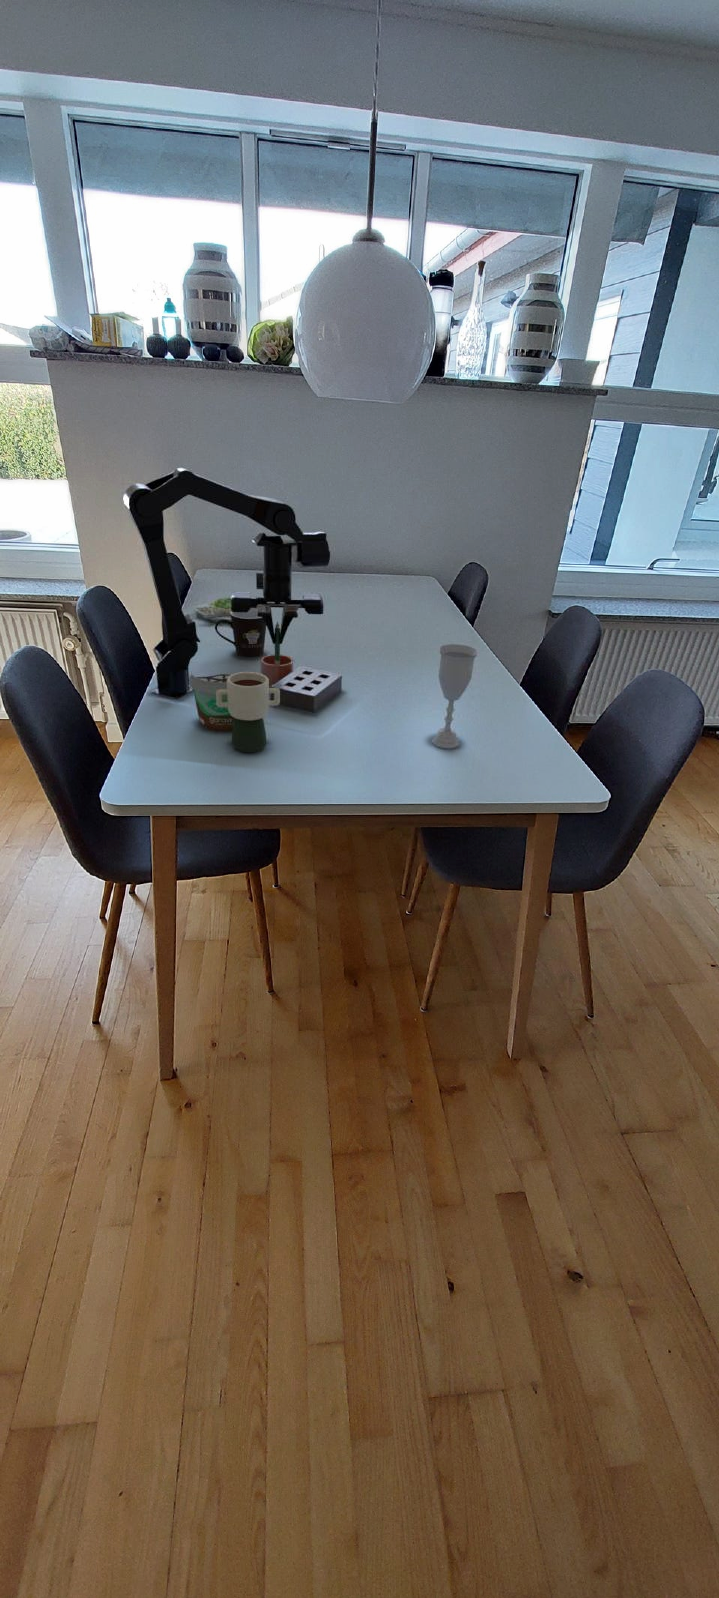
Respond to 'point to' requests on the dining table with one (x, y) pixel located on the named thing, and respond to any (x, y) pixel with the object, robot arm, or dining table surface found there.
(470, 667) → the chalice
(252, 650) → the coffee mug
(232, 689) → the character mug
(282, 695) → the pen block
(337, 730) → the dining table surface
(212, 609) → the salad plate
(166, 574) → the robot arm
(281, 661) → the cup
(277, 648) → the pencil
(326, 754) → the dining table surface
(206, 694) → the food container
